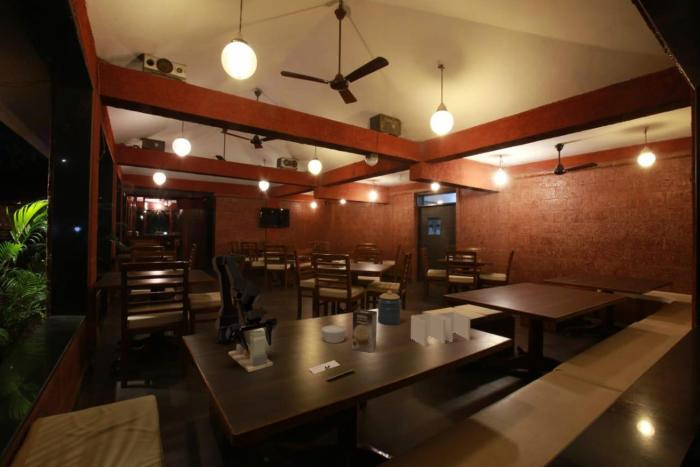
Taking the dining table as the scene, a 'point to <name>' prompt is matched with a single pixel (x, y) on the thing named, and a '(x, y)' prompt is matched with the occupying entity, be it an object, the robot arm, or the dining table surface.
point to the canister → (389, 309)
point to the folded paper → (326, 367)
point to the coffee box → (364, 330)
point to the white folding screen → (439, 326)
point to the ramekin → (334, 333)
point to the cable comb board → (247, 361)
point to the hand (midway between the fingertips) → (259, 347)
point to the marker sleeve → (257, 344)
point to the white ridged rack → (256, 360)
